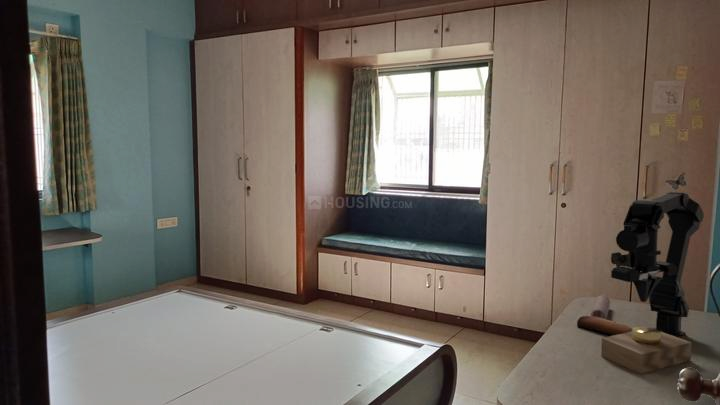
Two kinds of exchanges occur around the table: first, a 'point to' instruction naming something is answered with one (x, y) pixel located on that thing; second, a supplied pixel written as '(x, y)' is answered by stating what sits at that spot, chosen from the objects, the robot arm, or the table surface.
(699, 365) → the table surface
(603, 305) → the pale lilac cylinder
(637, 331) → the gold shiny rounded part
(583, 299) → the table surface
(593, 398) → the table surface
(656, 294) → the robot arm
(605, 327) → the sunglasses case
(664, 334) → the socket block
